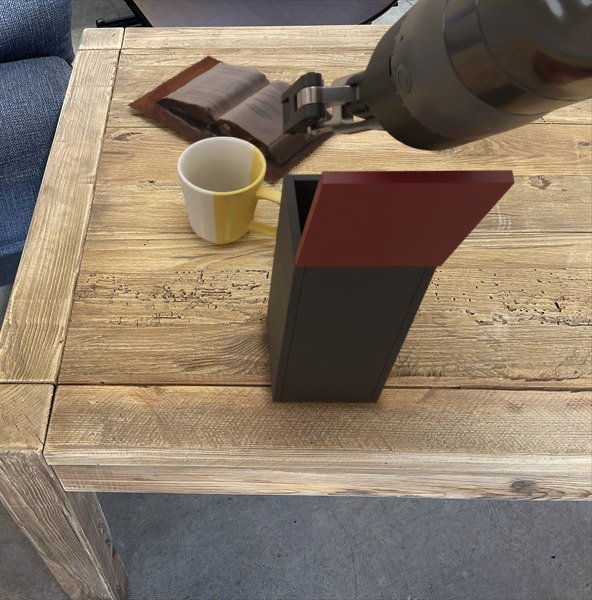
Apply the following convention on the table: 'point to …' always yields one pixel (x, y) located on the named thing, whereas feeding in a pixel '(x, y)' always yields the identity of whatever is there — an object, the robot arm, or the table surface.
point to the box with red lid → (333, 315)
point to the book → (229, 111)
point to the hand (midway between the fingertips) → (365, 121)
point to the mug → (224, 188)
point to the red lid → (396, 216)
